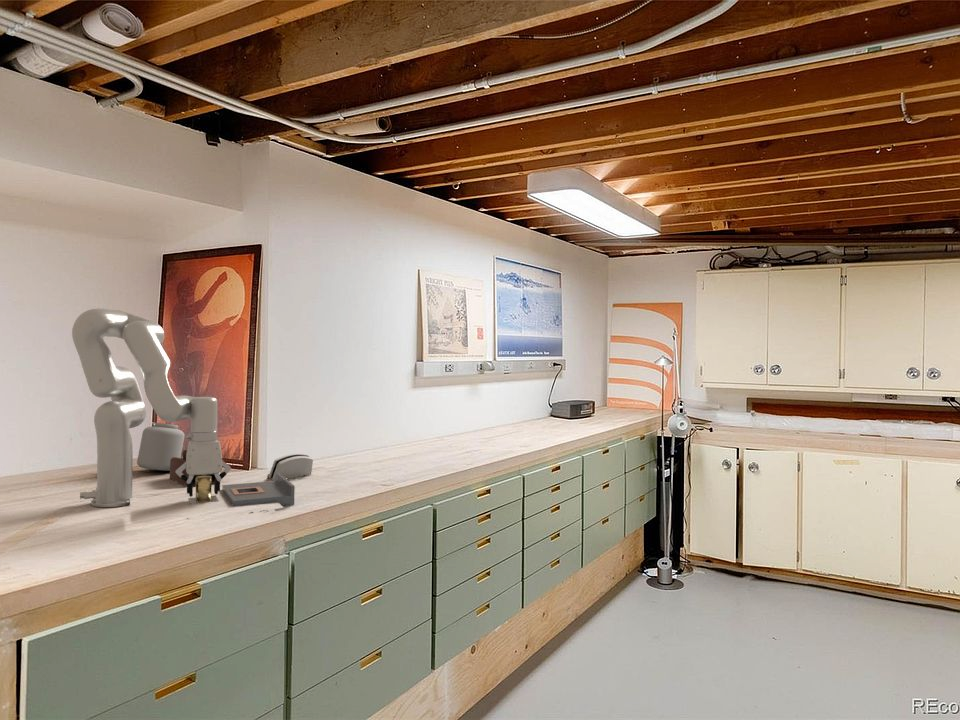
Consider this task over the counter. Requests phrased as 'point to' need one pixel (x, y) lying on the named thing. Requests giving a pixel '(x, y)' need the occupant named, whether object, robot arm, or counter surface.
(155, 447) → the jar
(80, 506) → the counter surface
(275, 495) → the plate
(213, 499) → the gray square slab
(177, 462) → the letter holder
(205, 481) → the barrel peg
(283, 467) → the grey rounded block
